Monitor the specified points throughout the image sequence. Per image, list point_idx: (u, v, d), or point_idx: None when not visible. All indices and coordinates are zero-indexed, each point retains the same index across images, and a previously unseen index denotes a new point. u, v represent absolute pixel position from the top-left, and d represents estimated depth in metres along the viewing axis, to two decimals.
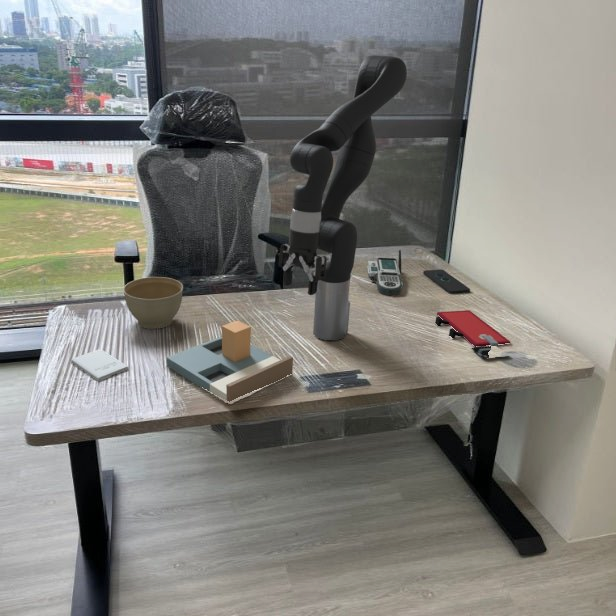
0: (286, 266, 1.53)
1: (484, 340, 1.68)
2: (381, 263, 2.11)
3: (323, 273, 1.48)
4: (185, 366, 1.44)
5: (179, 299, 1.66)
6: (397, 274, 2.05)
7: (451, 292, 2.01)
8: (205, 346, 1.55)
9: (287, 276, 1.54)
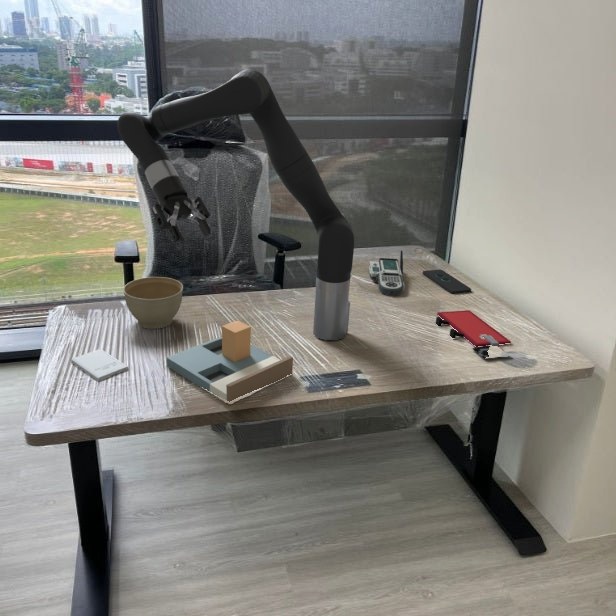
0: None
1: (485, 340, 1.68)
2: (382, 263, 2.11)
3: None
4: (185, 366, 1.44)
5: (179, 299, 1.66)
6: (399, 274, 2.05)
7: (453, 292, 2.01)
8: (205, 346, 1.55)
9: (201, 228, 1.52)
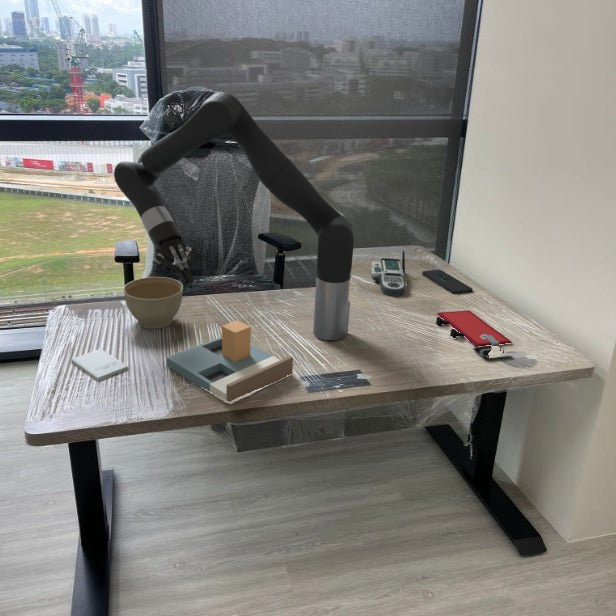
0: None
1: (485, 340, 1.68)
2: (384, 264, 2.11)
3: None
4: (185, 366, 1.44)
5: (179, 299, 1.66)
6: (401, 275, 2.04)
7: (455, 292, 2.01)
8: (205, 346, 1.55)
9: None
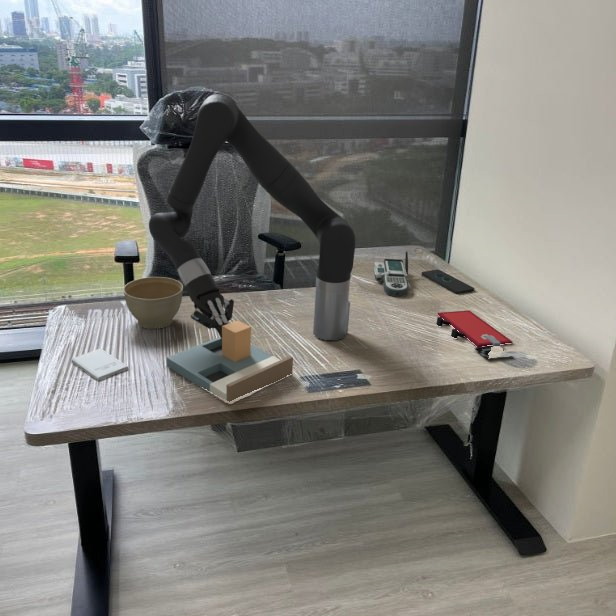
0: None
1: (486, 340, 1.68)
2: (387, 264, 2.11)
3: None
4: (185, 366, 1.44)
5: (179, 299, 1.66)
6: (404, 275, 2.04)
7: (458, 292, 2.01)
8: (205, 346, 1.55)
9: None
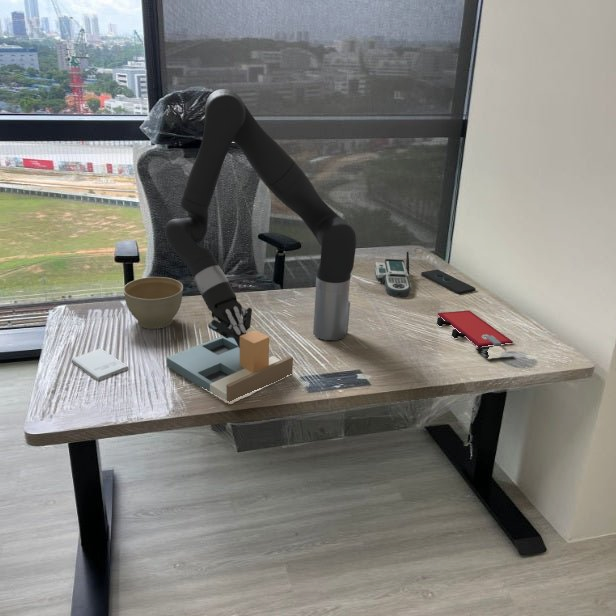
0: None
1: (487, 340, 1.68)
2: (389, 264, 2.11)
3: None
4: (185, 366, 1.44)
5: (179, 299, 1.66)
6: (405, 276, 2.04)
7: (459, 292, 2.01)
8: (205, 346, 1.55)
9: None
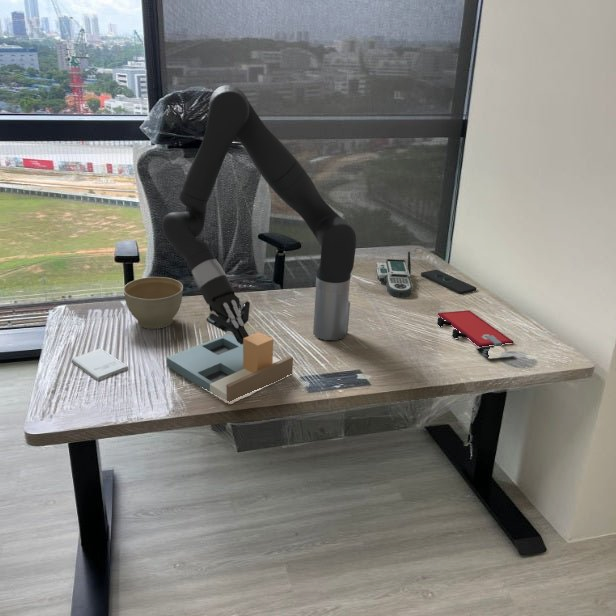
0: None
1: (487, 340, 1.68)
2: (390, 265, 2.10)
3: None
4: (185, 366, 1.44)
5: (179, 299, 1.66)
6: (407, 276, 2.04)
7: (461, 292, 2.01)
8: (205, 346, 1.55)
9: None
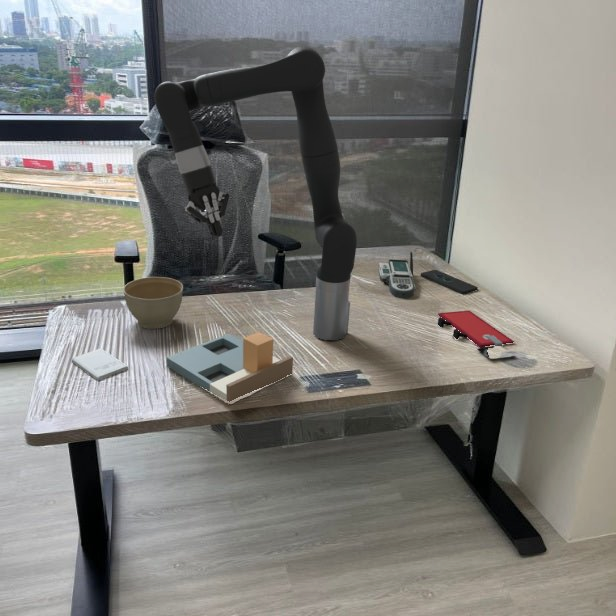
0: None
1: (488, 340, 1.68)
2: (392, 265, 2.10)
3: None
4: (185, 366, 1.44)
5: (179, 299, 1.66)
6: (409, 276, 2.03)
7: (464, 292, 2.01)
8: (205, 346, 1.55)
9: None
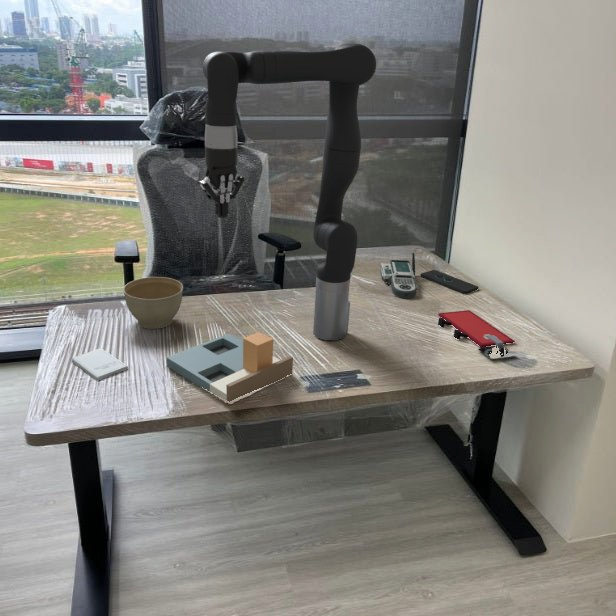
0: None
1: (489, 340, 1.68)
2: (394, 265, 2.10)
3: None
4: (185, 366, 1.44)
5: (179, 299, 1.66)
6: (412, 277, 2.03)
7: (465, 292, 2.02)
8: (205, 346, 1.55)
9: None
